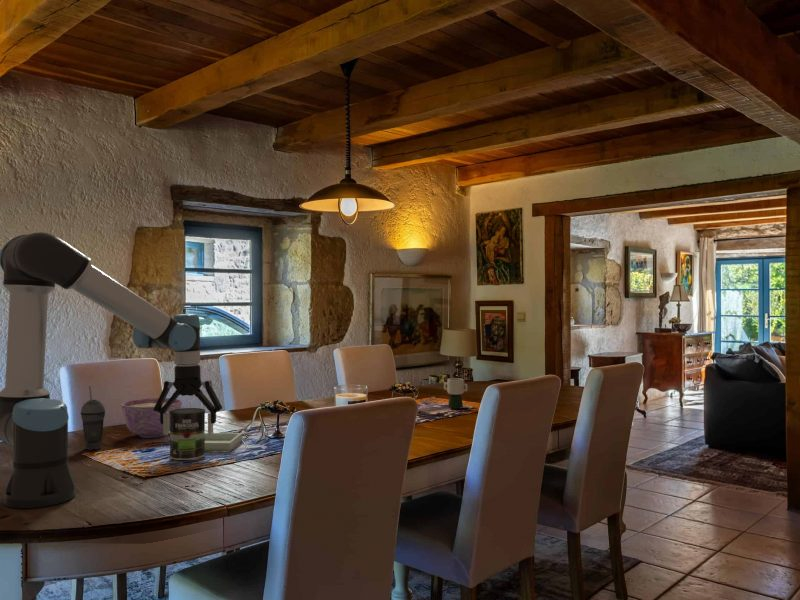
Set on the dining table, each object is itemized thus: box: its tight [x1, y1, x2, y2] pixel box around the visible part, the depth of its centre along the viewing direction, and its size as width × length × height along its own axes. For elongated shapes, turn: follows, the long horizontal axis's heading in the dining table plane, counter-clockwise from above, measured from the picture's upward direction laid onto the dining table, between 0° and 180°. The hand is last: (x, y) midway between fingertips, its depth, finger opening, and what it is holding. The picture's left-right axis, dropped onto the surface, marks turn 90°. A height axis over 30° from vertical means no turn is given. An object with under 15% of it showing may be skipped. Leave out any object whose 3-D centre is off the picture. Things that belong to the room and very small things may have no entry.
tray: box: [205, 432, 243, 453], centre depth 213 cm, size 14×14×3 cm
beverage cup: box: [80, 385, 106, 451], centre depth 210 cm, size 7×7×20 cm
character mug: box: [443, 377, 468, 410], centre depth 283 cm, size 11×7×13 cm, turn 65°
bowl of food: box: [120, 397, 183, 439], centre depth 230 cm, size 20×20×12 cm
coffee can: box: [169, 407, 206, 461], centre depth 199 cm, size 10×10×14 cm
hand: (188, 434), depth 200 cm, fingers open, 13 cm apart
